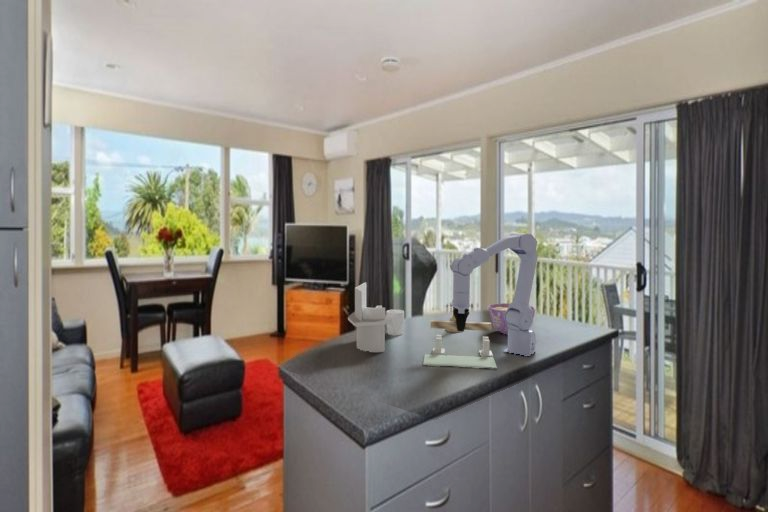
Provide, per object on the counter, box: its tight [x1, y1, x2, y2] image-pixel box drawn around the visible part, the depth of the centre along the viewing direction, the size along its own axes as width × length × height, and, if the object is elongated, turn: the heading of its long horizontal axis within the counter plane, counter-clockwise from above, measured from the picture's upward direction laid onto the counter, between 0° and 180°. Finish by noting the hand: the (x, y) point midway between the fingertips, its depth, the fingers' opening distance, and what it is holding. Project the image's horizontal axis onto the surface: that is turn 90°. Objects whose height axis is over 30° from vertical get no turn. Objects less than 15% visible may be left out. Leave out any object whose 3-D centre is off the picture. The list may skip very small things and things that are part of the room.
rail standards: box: [431, 334, 494, 358], centre depth 153 cm, size 21×6×6 cm, turn 81°
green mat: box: [422, 353, 498, 369], centre depth 143 cm, size 24×11×1 cm, turn 81°
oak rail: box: [430, 319, 493, 332], centre depth 147 cm, size 21×2×2 cm, turn 81°
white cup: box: [385, 309, 405, 337], centre depth 182 cm, size 8×8×10 cm
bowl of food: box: [487, 302, 537, 336], centre depth 183 cm, size 20×20×12 cm
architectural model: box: [347, 281, 393, 353], centre depth 163 cm, size 28×21×23 cm
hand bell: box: [444, 300, 464, 333], centre depth 188 cm, size 8×8×16 cm
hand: (460, 329), depth 147 cm, fingers closed on oak rail, 2 cm apart
